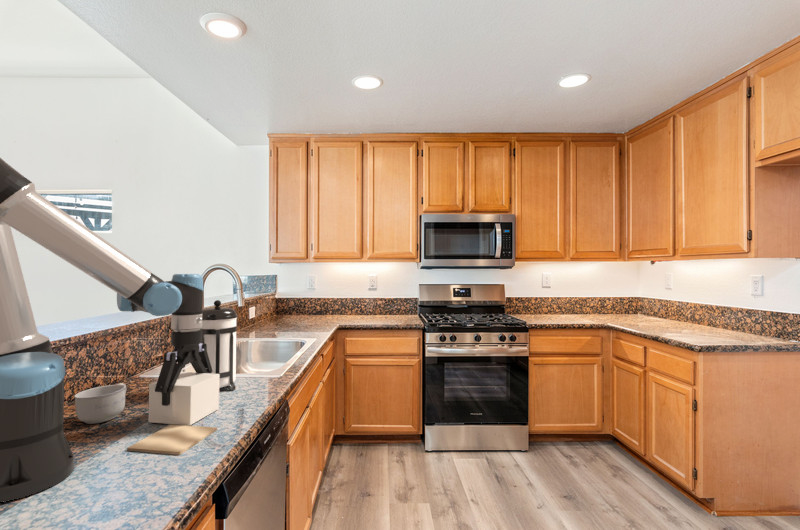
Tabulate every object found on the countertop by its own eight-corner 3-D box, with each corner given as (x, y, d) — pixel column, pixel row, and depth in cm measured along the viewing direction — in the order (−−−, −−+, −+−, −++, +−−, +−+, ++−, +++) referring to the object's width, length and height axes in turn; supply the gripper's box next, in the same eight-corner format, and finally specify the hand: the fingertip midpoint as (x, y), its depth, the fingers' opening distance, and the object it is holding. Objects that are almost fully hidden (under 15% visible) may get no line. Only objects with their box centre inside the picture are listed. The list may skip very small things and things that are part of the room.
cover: (190, 425, 97) (190, 386, 97) (148, 422, 99) (149, 383, 99) (218, 408, 109) (219, 373, 109) (181, 406, 111) (181, 371, 111)
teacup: (97, 429, 95) (97, 397, 95) (62, 425, 97) (63, 394, 97) (144, 409, 109) (145, 381, 109) (113, 406, 111) (114, 379, 111)
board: (179, 454, 82) (180, 452, 82) (127, 450, 84) (127, 447, 84) (217, 429, 95) (217, 427, 95) (170, 426, 97) (170, 424, 97)
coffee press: (178, 392, 124) (179, 301, 124) (218, 379, 138) (219, 298, 139) (216, 400, 117) (218, 303, 117) (255, 385, 132) (256, 299, 132)
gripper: (166, 337, 92) (164, 426, 91) (225, 324, 116) (224, 394, 115) (138, 336, 93) (136, 424, 92) (203, 323, 117) (202, 393, 116)
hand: (185, 408), depth 104 cm, fingers closed on cover, 12 cm apart
